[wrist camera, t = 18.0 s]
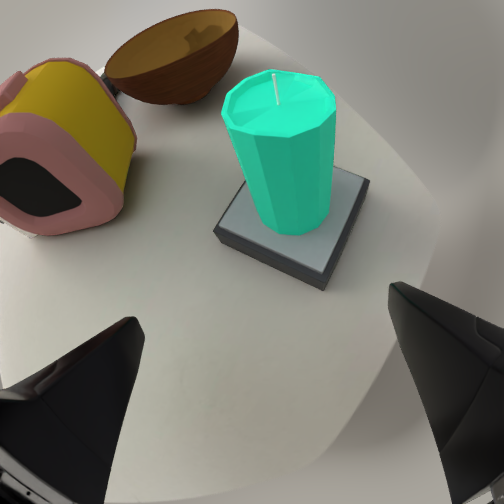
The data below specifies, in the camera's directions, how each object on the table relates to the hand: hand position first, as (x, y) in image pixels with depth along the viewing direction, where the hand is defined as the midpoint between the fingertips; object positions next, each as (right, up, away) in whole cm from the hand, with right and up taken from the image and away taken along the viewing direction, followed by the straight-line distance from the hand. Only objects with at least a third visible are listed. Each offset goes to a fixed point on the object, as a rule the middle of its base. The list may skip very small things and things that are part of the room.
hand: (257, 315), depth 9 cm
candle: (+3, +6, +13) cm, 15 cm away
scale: (+4, +5, +16) cm, 17 cm away
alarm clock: (-21, +9, +23) cm, 32 cm away
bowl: (-9, +25, +26) cm, 37 cm away
